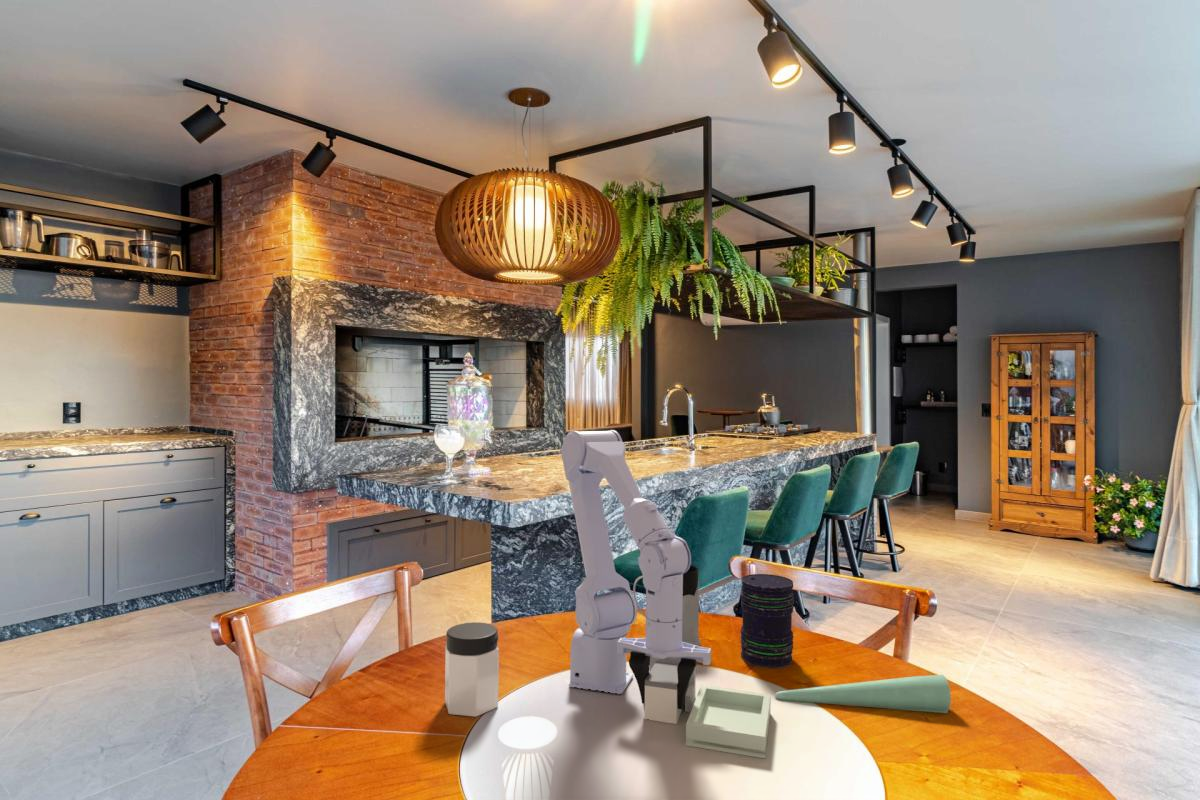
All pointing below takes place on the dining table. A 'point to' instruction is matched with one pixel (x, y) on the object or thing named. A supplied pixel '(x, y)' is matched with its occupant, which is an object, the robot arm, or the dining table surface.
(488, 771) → the dining table surface
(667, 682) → the tall grey beige-topped block
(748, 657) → the storage jar
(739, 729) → the tray
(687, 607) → the glass holder
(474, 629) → the jar
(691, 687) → the dock
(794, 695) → the long green cone
